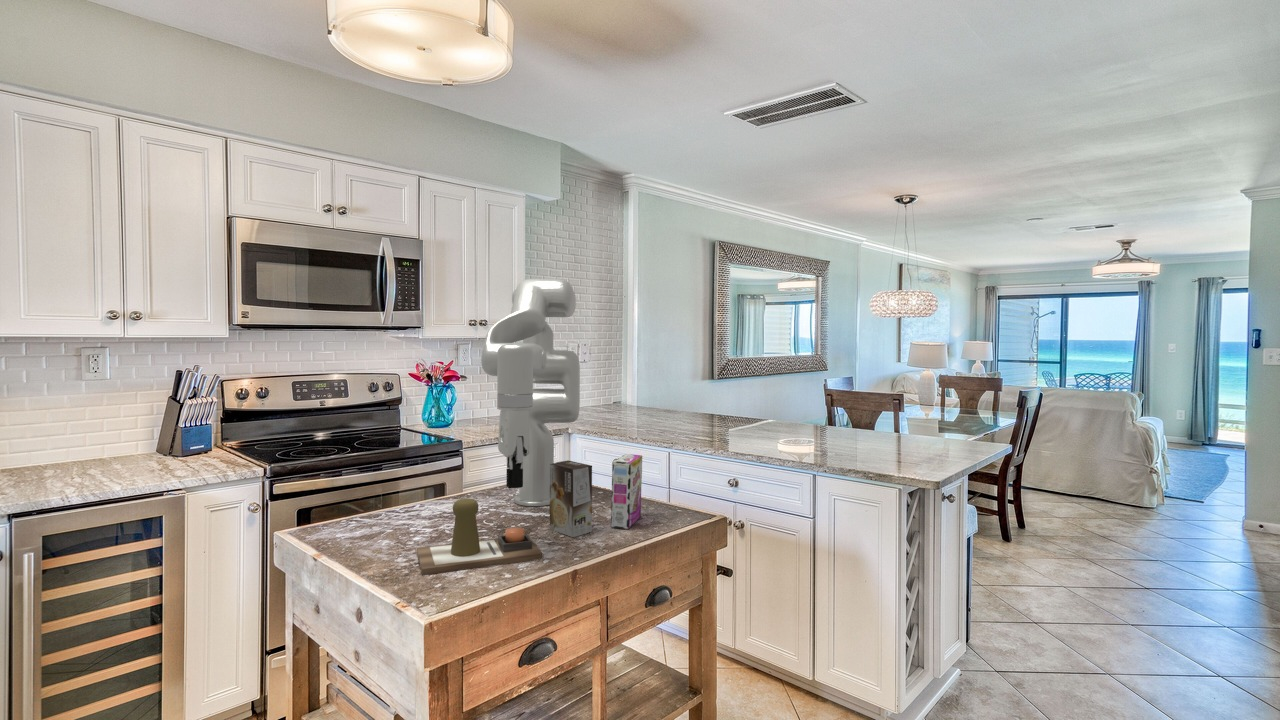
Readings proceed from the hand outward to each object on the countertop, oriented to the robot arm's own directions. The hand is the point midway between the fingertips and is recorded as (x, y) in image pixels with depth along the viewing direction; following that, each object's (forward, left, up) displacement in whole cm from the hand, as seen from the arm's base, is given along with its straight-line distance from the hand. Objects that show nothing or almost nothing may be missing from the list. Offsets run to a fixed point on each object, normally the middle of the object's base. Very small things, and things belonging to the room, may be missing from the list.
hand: (514, 487), depth 135 cm
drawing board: (0, -7, -14) cm, 16 cm away
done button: (0, 0, -12) cm, 12 cm away
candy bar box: (-11, +31, -14) cm, 36 cm away
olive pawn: (0, -10, -13) cm, 17 cm away
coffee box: (-10, +16, -14) cm, 23 cm away
